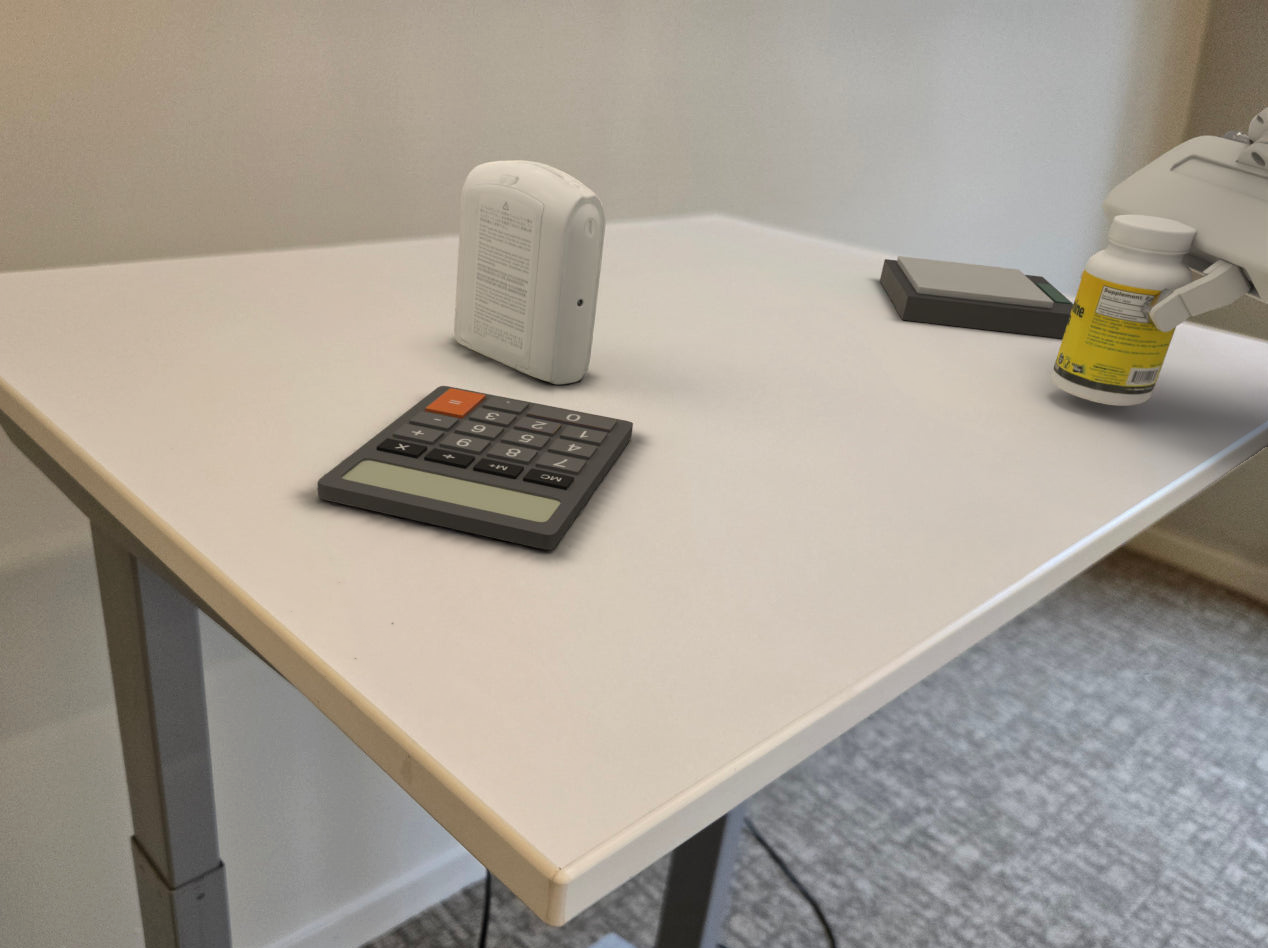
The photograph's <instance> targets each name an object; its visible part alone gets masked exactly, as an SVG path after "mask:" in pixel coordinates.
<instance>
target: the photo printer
mask: <svg viewBox="0 0 1268 948" xmlns="http://www.w3.org/2000/svg"><path fill="white" fill-rule="evenodd" d="M459 210H460V211H459V228H458V231H459V232H458V249H457V251H458V252H457V269H456V289H455V290H456V291H455V304H454V305H455V306H454V307H455V309H454V322H453V323H454V325H453V327H454V328H453V329H454V331H453V332H454V339H455V341H456V342H457V343H458V344H460V345H461V346H463V347H465V348H467V349H469V350H472V351H474V352H476V353H478V354H480V355H483V356H485V357H487V358H490V359H492V360H494V361H497V362H499V363H501V364H503V365H505V366H508V367H510V368H512V369H515V370H516V371H518V372H521V373H523V374H525V375H528V376H530V377H532V378H535V379H539V380H540V381H544V382H548V383H550V384H551V385H552V384H553V385H569V384H573V383H576V382H579V381H581V380H582V379H583V377H584V374H585V373H587V371H588V370H589V366H590V364H591V363H590V361H591V355H592V348H593V341H594V330H595V324H596V323H595V322H596V314H597V304H598V294H599V286H600V277H601V269H602V261H603V260H602V259H603V250H604V242H605V234H606V221H607V220H606V211H605V207H604V203H603V201H602V200H601V199H600V197H599V196H598V195H597V194H596V193H595V192H594V191H593V190H592V189H590V187H588V186H587V185H585V184H584V183H582V182H581V181H579V180H578V179H577V178H575V177H574V176H572V175H571V174H569V173H567V172H566V171H562V170H561V169H559V168H556V167H553V166H551V165H548V164H545V163H543V162H537V161H531V160H523V159H518V160H517V159H516V160H515V159H514V160H494V161H488V162H485V163H481V164H478V165H476V166H475V167H473V169H472V170H471V171H470V172H469V173H468V175H467V177H466V178H465V180H464V183H463V186H462V190H461V195H460V208H459Z"/></svg>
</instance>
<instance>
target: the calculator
mask: <svg viewBox="0 0 1268 948" xmlns="http://www.w3.org/2000/svg"><path fill="white" fill-rule="evenodd" d="M633 428H634V423H633V422H632V421H629V420H626V419H620V418H614V417H609V416H605V415H599V414H594V413H589V412H583V411H578V410H573V409H569V408H563V407H557V406H552V405H548V404H543V403H536V402H531V401H527V400H522V399H515V398H511V397H507V396H506V397H505V396H501V395H495V394H491V393H485V392H480V391H475V390H469V389H465V388H460V387H459V388H458V387H455V386H448V385H440V386H438V387H436V388H435V389H434V390H433V391H431V392H429V394H427V395H426V396H424V398H421V400H420V401H418V402H417V403H416V404H414V405H413V406H411V407H410V408H409V409H408V410H407V411H405V412H404V413H403V414H401V415H400V416H399V417H398V418H396V419H395V420H394V421H392V422H391V423H390V424H389V425H387V426H386V427H385V428H384V429H382V430H380V431H379V432H378V433H377V434H375V435H374V436H373V437H372V438H370V439H369V440H368V441H367V442H365V443H364V444H363V445H361V446H360V447H359V448H357V449H356V450H355V451H354V452H353V453H351V454H350V455H349V456H347V457H346V458H345V459H343V460H342V461H340V462H339V463H338V464H337V465H336V466H334V467H333V468H332V469H330V470H329V471H328V472H327V473H325V474H324V475H323V476H321V477H320V478H319V479H318V480H317V497H318V498H319V499H322V500H325V501H329V502H334V503H338V504H341V505H347V506H351V507H354V508H355V507H356V508H359V509H364V510H368V511H373V512H376V513H382V514H386V515H391V516H395V517H399V518H404V519H408V520H413V521H417V522H422V523H427V524H430V525H434V526H439V527H445V528H449V529H452V530H457V531H462V532H465V533H470V534H473V535H480V536H484V537H488V538H492V539H496V540H501V541H506V542H510V543H515V544H519V545H524V546H526V547H528V546H529V547H532V548H536V549H542V550H547V551H548V550H553V549H554V548H555V547H556V546H557V545H558V544H559V542H560V541H561V539H562V538H563V536H564V535H565V533H566V532H567V530H568V529H569V528H570V526H571V525H572V523H573V522H574V521H575V519H576V518H577V516H578V515H579V513H580V512H581V510H582V509H583V507H584V506H585V505H586V503H588V500H589V499H590V498H591V496H592V495H593V493H594V492H595V490H596V489H597V488H598V486H599V485H600V483H601V482H602V480H603V479H604V478H605V477H606V475H607V473H608V472H609V470H610V469H611V468H612V466H613V465H614V463H615V462H616V460H617V459H618V457H619V456H620V455H621V453H622V451H623V450H624V449H625V447H626V446H627V444H628V443H629V442H630V440H631V439H632V436H633V435H632V434H633Z"/></svg>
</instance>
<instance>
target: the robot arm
mask: <svg viewBox="0 0 1268 948" xmlns="http://www.w3.org/2000/svg"><path fill="white" fill-rule="evenodd" d="M1247 132H1248V133H1245V132H1243V131H1240V130H1229V131H1226V132H1225V133H1224V134H1223V135H1219V136H1216V135H1200V136H1196V137H1193V138H1190V139H1188V140H1185V141H1184V142H1182V143H1180V144H1178V145H1176V146H1175V147H1173V148H1171V149H1169V150H1168V151H1166V152H1164V153H1163V154H1161V155H1160V156H1159V157H1157V158H1155V159H1153V160H1152V161H1151V162H1150V163H1147V164H1146V165H1145V166H1143V167H1141V168H1140V169H1139V170H1137V171H1135V173H1133V174H1131V175H1130V176H1129V177H1127V178H1126V179H1124V180H1123V181H1121V182H1119V184H1117V185H1116V186H1115V187H1113V188H1112V189H1111V190H1110V191H1109V192H1108V193H1107V195H1106V196H1105V198H1104V200H1103V202H1102V204H1101V207H1102V208H1101V209H1102V210H1103V212H1104V214H1105V216H1106V218H1107V220H1108V221H1109V223H1110V226H1111V225H1112V222H1113V219H1114V218H1115V217H1116V216H1118V215H1145V216H1153V217H1160V218H1166V219H1171V220H1175V221H1178V222H1180V223H1182V224H1185V225H1187V226H1190V227H1192V228H1195V229H1196V234H1195V236H1194V238H1193V240H1192V245H1191V248H1190V249H1189V252H1188V253H1187V254H1184V255H1183V258H1182V261H1183V263H1185V264H1186V265H1187V266H1188V267H1189V268H1190V270H1191V272H1194V273H1196V274H1199V275H1201V276H1202V277H1200V278H1198V279H1195V280H1193V281H1192V282H1191V283H1189V284H1187V285H1185V286H1183V287H1181V288H1178V289H1176V290H1174V291H1171V290H1168V289H1166V288H1165V289H1163V290H1162V291H1161V292H1159V293H1158V294H1156V295H1155V296H1154V298H1152V299H1150V300H1148V301H1146V302H1145V303H1144V304H1143V306H1142V309H1141V311H1142V313H1143V315H1144V316H1145V317H1146V320H1147V322H1148V323H1149V324H1151V325H1152V326H1154V327H1156V328H1157V329H1158V330H1161V331H1163V332H1168V331H1171V330H1172V329H1173V328H1175V327H1176V328H1177V327H1178V326H1180V325H1181V324H1183V323H1184V322H1185V321H1187V320H1188V319H1189V318H1191V317H1196V316H1200V315H1203V314H1205V313H1208V312H1212V311H1216V310H1218V309H1222V308H1225V307H1227V306H1230V305H1232V304H1233V303H1235V302H1236V301H1237V300H1239V299H1240V298H1243V296H1244V295H1246V296H1247V297H1250V298H1252V299H1254V300H1257V301H1259V302H1260V303H1263V304H1266V305H1268V106H1266V107H1265V108H1263V109H1262V110H1261V111H1260V112H1259V113H1257V114H1256V115H1255V116H1254V117H1253V118H1252V119H1251V121H1250V123H1249V125H1248V131H1247ZM1110 243H1111V242H1110V241H1109V243H1108V245H1107V246H1106V248H1105V249H1107V248H1108V247H1109V245H1110ZM1083 272H1084V270H1083V271H1081V273H1080V279H1081V278H1082V275H1083Z"/></svg>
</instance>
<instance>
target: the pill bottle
mask: <svg viewBox="0 0 1268 948" xmlns="http://www.w3.org/2000/svg"><path fill="white" fill-rule="evenodd" d="M1195 234H1196V229H1195V228H1192V227H1190V226H1187V225H1185V224H1182V223H1180V222H1178V221H1175V220H1171V219H1166V218H1160V217H1153V216H1145V215H1118V216H1116V217H1115V218H1114V219H1113V222H1112V225H1111V224H1110V228H1109V231H1108V237H1107V241H1109V243H1110V242H1111V243H1110V245H1109V244H1108V245H1109V247H1108V246H1107V247H1108V248H1107V247H1106V248H1107V249H1106V248H1105V249H1101V250H1099V251H1097V252H1096V253H1094V254H1092V255H1091V256H1090V257H1089V258H1088V260H1087V262H1086V263H1085V266H1084V269H1083V271H1084V272H1083V271H1082V272H1083V275H1082V278H1081V277H1080V282H1079V284H1078V288H1077V291H1076V295H1075V298H1074V301H1073V307H1072V310H1071V314H1070V317H1069V320H1068V324H1067V327H1066V330H1065V333H1064V336H1063V339H1062V338H1061V339H1062V340H1061V343H1060V346H1059V350H1058V352H1057V357H1056V359H1055V363H1054V365H1053V369H1052V372H1051V373H1052V374H1051V379H1052V382H1053V384H1054V385H1055V386H1056V387H1057V388H1058V389H1060V390H1061V391H1063V392H1065V393H1067V394H1070V395H1072V396H1075V397H1077V398H1081V399H1082V400H1085V401H1090V402H1093V403H1099V404H1103V405H1110V406H1122V407H1124V406H1135V405H1140V404H1143V403H1145V402H1147V401H1148V400H1149V399H1150V398H1151V397H1152V395H1153V392H1154V390H1155V387H1156V384H1157V383H1158V379H1159V376H1160V374H1161V370H1162V367H1163V366H1164V362H1165V360H1166V357H1167V354H1168V351H1169V348H1170V346H1171V342H1172V340H1173V337H1174V335H1175V331H1176V328H1177V326H1176V327H1175V328H1173V329H1172V330H1171V331H1168V332H1163V331H1161V330H1158V329H1157V328H1156V327H1154V326H1152V325H1151V324H1149V323H1148V322H1147V320H1146V317H1145V316H1144V315H1143V313H1142V311H1141V309H1142V306H1143V304H1144V303H1145V302H1146V301H1148V300H1150V299H1152V298H1154V296H1155V295H1156V294H1158V293H1159V292H1161V291H1162V290H1163V289H1165V288H1166V289H1168V290H1171V291H1174V290H1176V289H1178V288H1181V287H1183V286H1185V285H1187V284H1189V283H1191V282H1194V280H1193V271H1192V270H1190V268H1189V267H1188V266H1187V265H1186V264H1185V263H1183V261H1182V258H1183V255H1184V254H1187V253H1188V252H1189V249H1190V248H1191V245H1192V240H1193V238H1194V236H1195Z"/></svg>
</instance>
